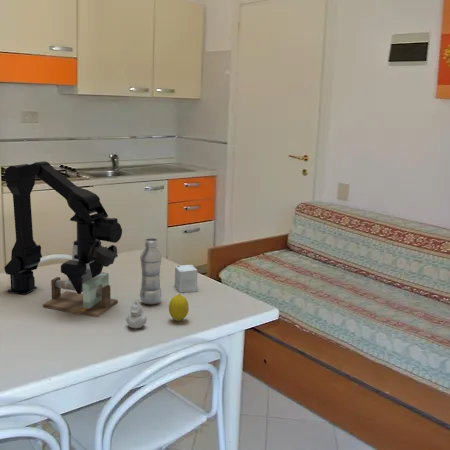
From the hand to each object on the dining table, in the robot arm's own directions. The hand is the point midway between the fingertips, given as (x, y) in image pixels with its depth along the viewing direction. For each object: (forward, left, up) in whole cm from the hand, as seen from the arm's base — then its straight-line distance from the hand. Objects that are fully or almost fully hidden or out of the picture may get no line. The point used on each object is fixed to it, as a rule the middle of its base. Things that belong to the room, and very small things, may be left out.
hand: (87, 288), depth 166 cm
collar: (+3, 0, -4) cm, 5 cm away
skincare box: (+21, +26, -6) cm, 34 cm away
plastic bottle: (+16, +10, -6) cm, 19 cm away
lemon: (+29, +1, -6) cm, 29 cm away
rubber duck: (+20, -7, -6) cm, 22 cm away
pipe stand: (-2, 0, -6) cm, 6 cm away
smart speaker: (-12, +19, -6) cm, 23 cm away
